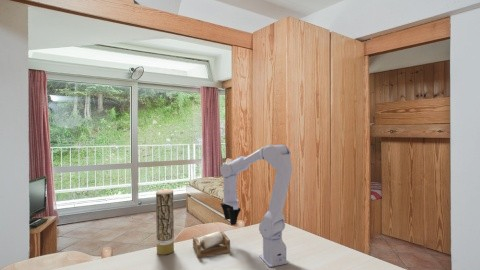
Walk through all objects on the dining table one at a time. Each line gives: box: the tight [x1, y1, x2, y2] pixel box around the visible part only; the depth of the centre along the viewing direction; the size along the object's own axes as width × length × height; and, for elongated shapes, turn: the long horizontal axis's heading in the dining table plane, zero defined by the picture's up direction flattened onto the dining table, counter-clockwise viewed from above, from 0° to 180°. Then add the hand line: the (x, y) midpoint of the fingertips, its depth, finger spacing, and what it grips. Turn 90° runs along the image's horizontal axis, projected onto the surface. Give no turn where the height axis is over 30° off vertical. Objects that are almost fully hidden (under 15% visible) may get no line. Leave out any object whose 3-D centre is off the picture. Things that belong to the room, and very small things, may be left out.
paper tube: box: [155, 188, 175, 256], centre depth 107 cm, size 7×7×25 cm
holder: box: [192, 231, 231, 259], centre depth 108 cm, size 10×13×5 cm
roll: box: [199, 231, 223, 249], centre depth 108 cm, size 5×8×5 cm, turn 131°
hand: (230, 221), depth 114 cm, fingers open, 7 cm apart
